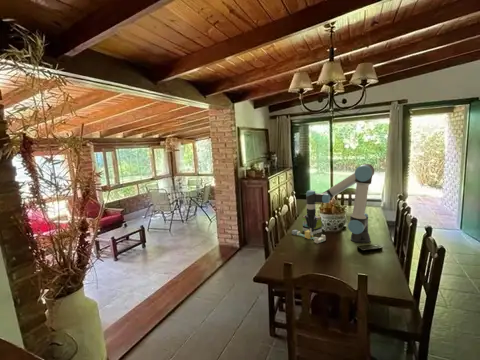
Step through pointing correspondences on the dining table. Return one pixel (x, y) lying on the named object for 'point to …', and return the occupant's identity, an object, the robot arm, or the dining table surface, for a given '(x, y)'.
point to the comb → (319, 239)
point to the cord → (304, 236)
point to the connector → (294, 232)
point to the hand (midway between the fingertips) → (311, 235)
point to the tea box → (317, 228)
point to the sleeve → (307, 234)
